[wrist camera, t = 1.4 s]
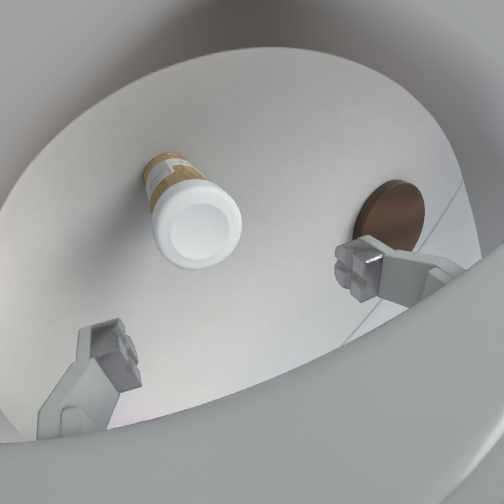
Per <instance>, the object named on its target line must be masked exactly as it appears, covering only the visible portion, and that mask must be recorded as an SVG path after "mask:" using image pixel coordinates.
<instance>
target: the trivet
mask: <svg viewBox="0 0 504 504" xmlns="http://www.w3.org/2000/svg"><path fill="white" fill-rule="evenodd" d="M424 216H425V207H424V200H423V197H422V195H421V193H420V191H419V190H418V188H417V187H416V186H414V185H412V184H410V183H408V182H405V181H402V180H392V181H389V182H387V183H385V184H383V185H381V186H380V187H379V188H377V189H376V190H375V191H374V192H373V193H372V194H371V196H370V197H369V198H368V200H367V201H366V202H365V204H364V206H363V207H362V209H361V212H360V214H359V216H358V219H357V222H356V225H355V229H354V235H353V240H356V239H357V238H360V237H362V236H365V235H370V236H372V237H374V238H375V239H377V240H379V241H380V242H382V243H384V244H385V245H387V246H389V247H390V248H392V249H393V250H397V249H398V250H404V251H409V252H411V251H412V250H413V248H414V247H415V245H416V243H417V241H418V239H419V236H420V234H421V231H422V227H423V223H424Z"/></svg>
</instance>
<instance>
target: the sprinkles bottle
mask: <svg viewBox="0 0 504 504" xmlns="http://www.w3.org/2000/svg"><path fill="white" fill-rule="evenodd" d="M144 184H145V187H146V192H147V198H148V203H149V207H150V212H151V215H152V230H153V235H154V239H155V242H156V245H157V247H158V249H159V251H160V253H161V254H162V256H163V257H164V258H165V259H166V260H167V261H169V262H170V263H171V264H173V265H175V266H177V267H179V268H182V269H186V270H203V269H207V268H210V267H213V266H215V265H217V264H219V263H220V262H222V261H223V260H224V259H226V258H227V257H228V256H229V255H230V254H231V252H232V251H233V250H234V248H235V247H236V245H237V243H238V241H239V238H240V235H241V229H242V219H241V214H240V211H239V209H238V206H237V205H236V203H235V202H234V200H233V199H232V198H231V197H230V196H229V195H228V194H227V193H226V192H225V191H224V190H223V189H221V188H220V187H219V186H217V185H216V184H214V183H212V182H209V181H208V180H207V179H206V178H205V177H204V176H203V175H202V174H201V173H200V172H199V171H198V170H197V169H196V168H195V167H193V166H192V165H191V164H190V163H189V162H188V161H187V160H186V159H185V158H184V157H183V156H181V155H178V154H176V153H165V154H161V155H159V156H157V157H155V158H153V159H152V160H151V162H150V163H149V164H148V166H147V167H146V169H145V173H144Z"/></svg>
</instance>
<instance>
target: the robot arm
mask: <svg viewBox="0 0 504 504" xmlns="http://www.w3.org/2000/svg"><path fill="white" fill-rule="evenodd" d="M335 257H336V258H337V260H338V261H337V263H336V264H335V266H334V267H335V277H336V280H337V281H338V283H339V284H340V285H341V286H342V287H343V288H346V289H350V294H351V295H352V296H353V297H354V298H356V299H357V300H358V301H359V302H360V303H362V302H364V301H367V300H369V299H371V298H373V297H375V296H377V295H378V297H380V298H383V299H386V300H389V301H392V302H394V303H397V304H400V305H403V306H406V307H408V308H409V309H407V310H406V311H404V312H403V313H401V314H399V315H398V316H396V317H394V318H392V319H391V320H389V321H387V322H386V323H384V324H382V325H380V326H379V327H377V328H375V329H373V330H371V331H369V332H368V333H366V334H364V335H362V336H360V337H358V338H357V339H355V340H353V341H351V342H349V343H347V344H345V345H343V346H341V347H339V348H337V349H335V350H333V351H331V352H329V353H327V354H325V355H323V356H321V357H319V358H317V359H315V360H312V361H310V362H308V363H306V364H304V365H302V366H299V367H297V368H295V369H293V370H290V371H288V372H286V373H283V374H281V375H279V376H276V377H274V378H272V379H269V380H267V381H264V382H262V383H259V384H257V385H254V386H252V387H249V388H247V389H244V390H241V391H239V392H236V393H233V394H231V395H228V396H225V397H222V398H219V399H216V400H214V401H211V402H208V403H205V404H202V405H199V406H195V407H192V408H189V409H186V410H183V411H179V412H176V413H173V414H169V415H166V416H162V417H158V418H155V419H151V420H147V421H143V422H139V423H135V424H131V425H127V426H122V427H118V428H113V429H108V430H106V428H107V426H108V423H109V421H110V418H111V416H112V413H113V411H114V408H115V406H116V403H117V401H118V398H119V396H120V394H119V393H122V392H125V391H129V390H132V389H136V388H139V387H142V382H141V376H140V371H139V369H138V368H137V366H136V365H137V363H138V357H137V353H136V349H135V347H134V344H133V342H132V340H131V338H130V336H128V335H126V334H125V326H124V324H123V322H122V321H121V319H120V318H116V319H112V320H109V321H105V322H102V323H98V324H94V325H91V326H87V327H84V328H81V329H80V330H79V332H78V341H77V352H76V362H74V363H72V364H71V365H70V367H69V368H68V369H67V371H66V372H65V374H64V375H63V376H62V378H61V379H60V381H59V382H58V384H57V385H56V386H55V388H54V389H53V391H52V392H51V394H50V395H49V397H48V398H47V400H46V401H45V403H44V404H43V406H42V407H41V409H40V410H39V412H38V421H37V440H36V441H28V442H16V443H0V504H504V241H503V242H502V243H501V244H500V245H498V246H497V247H496V248H495V249H494V250H492V251H491V252H490V253H488V254H487V255H486V256H484V257H483V258H482V259H481V260H479V261H478V262H477V263H475V264H474V265H473V266H471V267H470V268H469V269H467V270H465V269H464V268H462V267H460V266H459V265H457V264H456V263H454V262H452V261H451V260H449V259H448V258H442V257H437V256H432V255H426V254H421V253H415V252H409V251H404V250H398V249H397V250H393V249H392V248H390V247H389V246H387V245H385V244H384V243H382V242H380V241H379V240H377V239H375V238H374V237H372V236H370V235H365V236H362V237H360V238H357V239H356V240H353V241H350V242H347V243H345V244H342V245H339V246H337V247H336V249H335Z"/></svg>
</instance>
